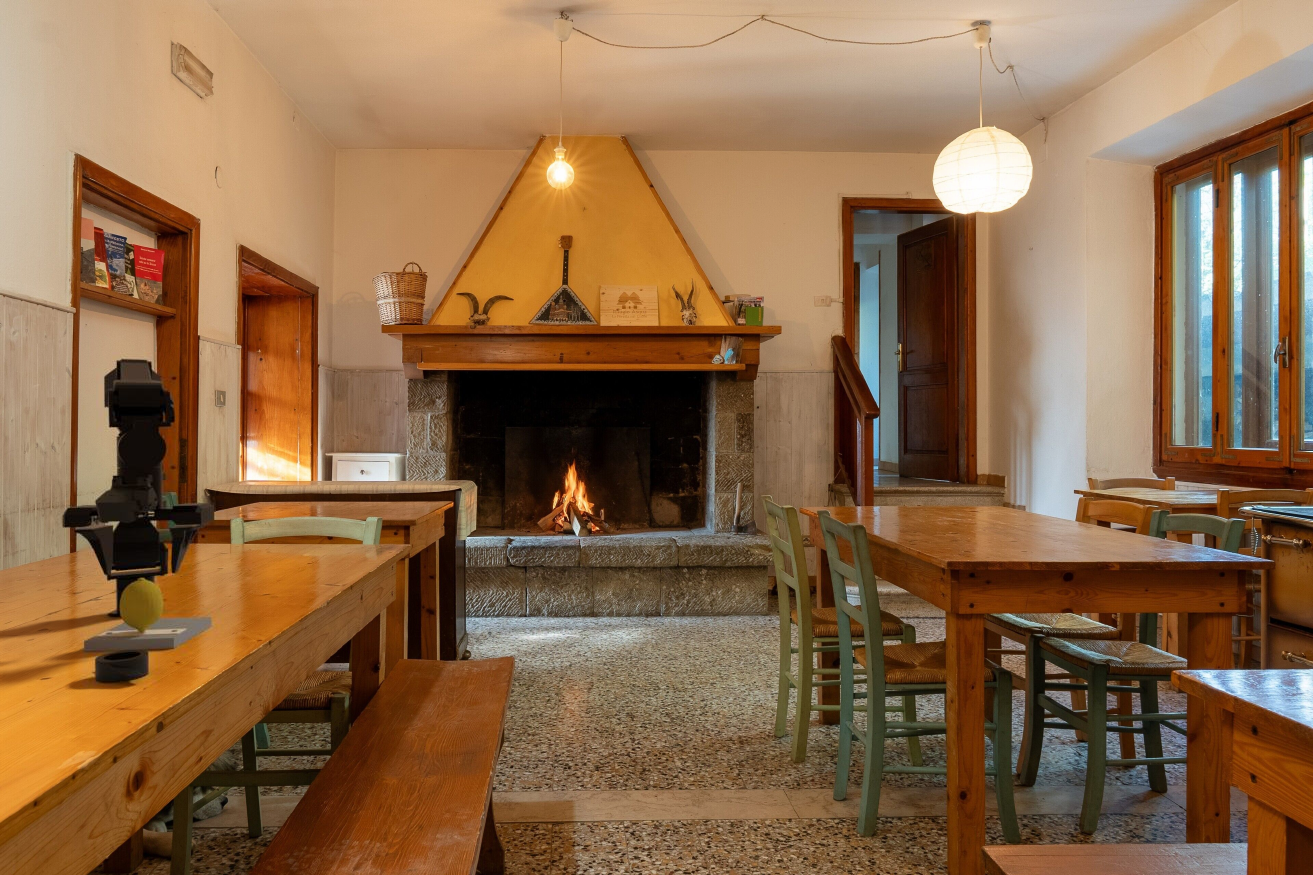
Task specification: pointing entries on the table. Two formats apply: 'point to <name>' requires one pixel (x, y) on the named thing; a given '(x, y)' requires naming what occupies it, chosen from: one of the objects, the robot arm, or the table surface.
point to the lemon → (141, 604)
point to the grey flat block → (149, 635)
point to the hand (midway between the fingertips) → (141, 573)
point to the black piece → (121, 666)
